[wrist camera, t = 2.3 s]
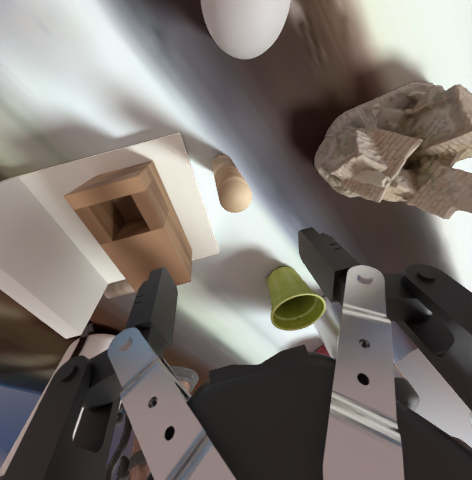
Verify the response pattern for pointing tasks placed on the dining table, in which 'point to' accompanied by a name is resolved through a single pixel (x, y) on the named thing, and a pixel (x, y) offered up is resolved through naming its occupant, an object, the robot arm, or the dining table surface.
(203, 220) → the l-shaped bookend
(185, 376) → the tankard
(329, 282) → the robot arm
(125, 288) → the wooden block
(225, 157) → the dowel
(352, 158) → the ceramic cottage
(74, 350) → the coffee press
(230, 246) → the dining table surface
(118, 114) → the dining table surface
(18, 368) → the dining table surface
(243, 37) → the lightbulb
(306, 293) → the plant pot
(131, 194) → the wooden square-hole block
